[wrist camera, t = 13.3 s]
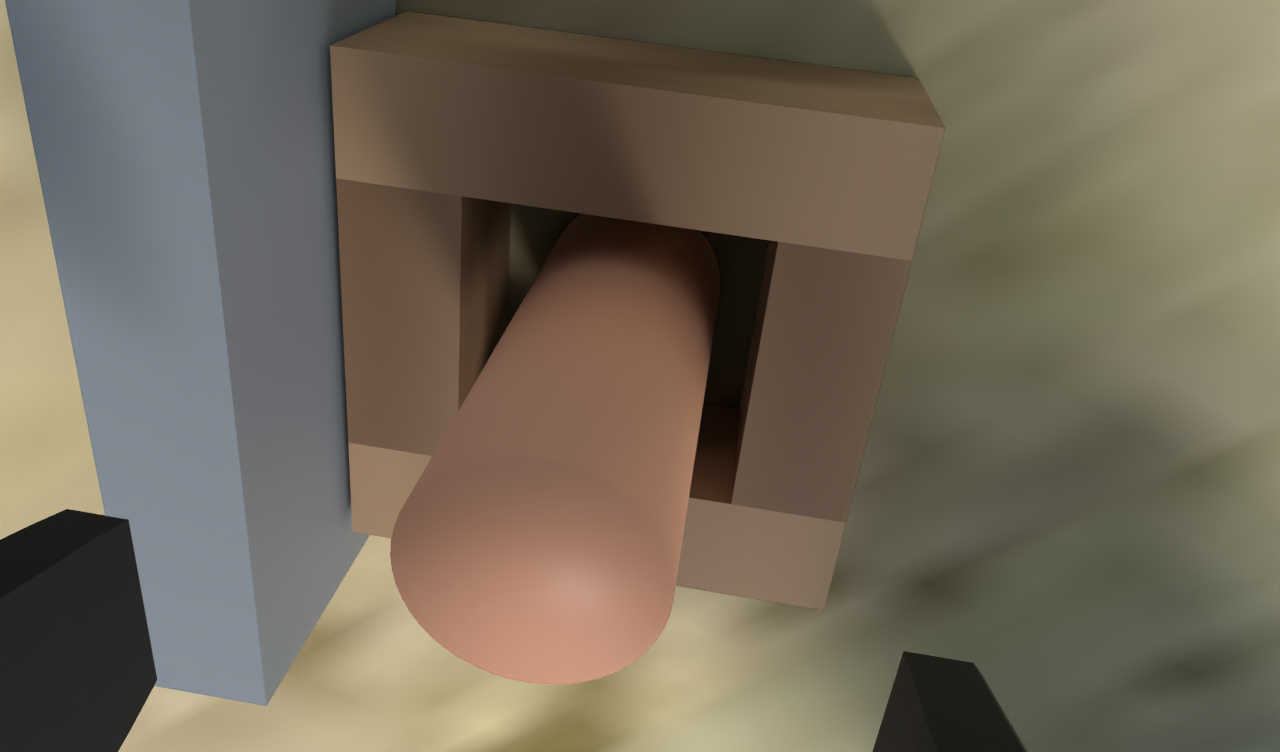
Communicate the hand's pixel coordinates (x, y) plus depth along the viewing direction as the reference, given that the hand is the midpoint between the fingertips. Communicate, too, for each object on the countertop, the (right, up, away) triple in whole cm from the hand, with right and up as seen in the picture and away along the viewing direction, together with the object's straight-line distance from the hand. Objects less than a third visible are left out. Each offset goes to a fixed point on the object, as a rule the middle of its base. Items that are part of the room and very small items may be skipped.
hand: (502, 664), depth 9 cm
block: (+1, +4, +8) cm, 9 cm away
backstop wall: (-4, +5, +8) cm, 11 cm away
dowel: (+1, +4, +8) cm, 9 cm away
